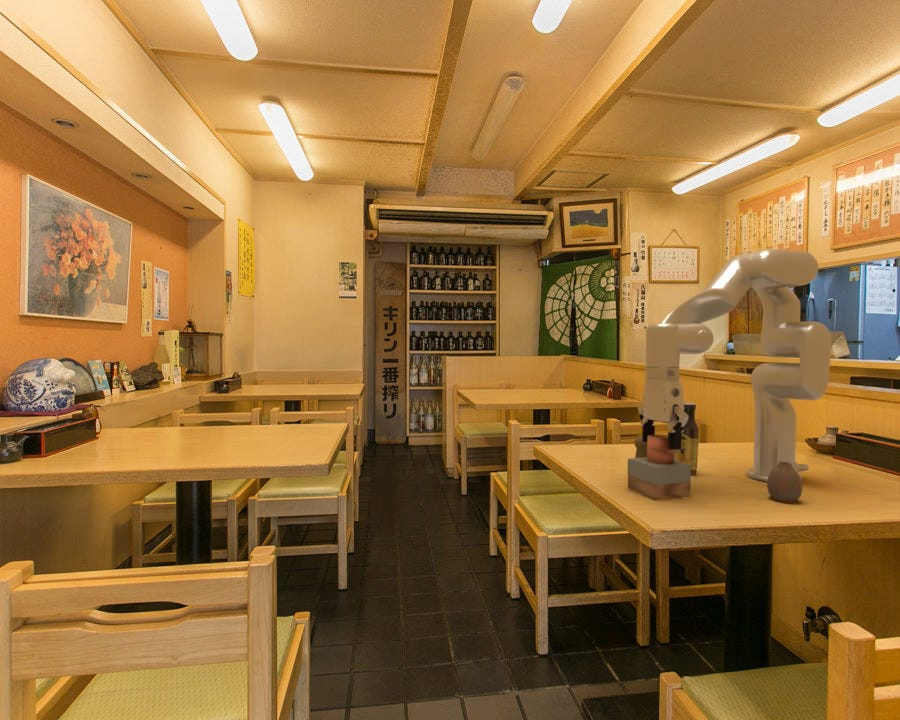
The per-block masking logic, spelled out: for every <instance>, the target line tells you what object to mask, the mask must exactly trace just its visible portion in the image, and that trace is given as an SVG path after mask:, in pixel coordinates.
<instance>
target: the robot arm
mask: <svg viewBox="0 0 900 720" xmlns="http://www.w3.org/2000/svg"><path fill="white" fill-rule="evenodd" d="M818 272H819V264H818V261H817V259H816V257H815V256H814V255H813V254H811V253H810V252H808V251H805V250H804V251H803V250H790V249H778V248H777V249H776V248H768V249H761V250H757V251H751V252H746V253H741V254H737V255H735V256H732V257H731V258H729V259H728V260H727V261H726V262H725V264H723V266H722V267H721V268H720V269H719V271H717V273H716V275H715V276H714V277H713V278H712V279H711V280H710V281H709V283H708V284H707V285H706V286H705V288H704V289H703V290H702V291H699V292H698V293H696V294H695V295H693V296H691V297H690V298H688V300H686V301H684V302H682V303H681V304H679V305H678V306H676V307H675V308H674V309H672V310H671V311H670V312H668V314H667V315H666V316H665V318H664V319H662V321H661V322H660V323H651V324H649V325H648V326H647V328H646V329H645V331H646V332H645V381H644V386H643V392H642V393H643V395H642V404H640V405H639V406H638V407H637V411H638V414H639V415H638V416H639V420H640V425H641V426H642V427H641V428H642V434H641V436H642V441H643V442H647V438H648V435H656V432H655V431H656V426H655V425H654V424H655V422H656V423H663V424H666V426H667V427H668V430H669V432H667V436H668V449H670V450H678V449H681V433H682V432H683V431H684V428H685V427H686V423H687V420H688V418H689V416H688V415H687V414H686V413H685V412H684V403H685V401H684V400H685V398H684V391H683V385H682V382H681V380H680V363H681V362H680V358H681V357H680V355H699V354H703V353H705V352H707V351H708V350H709V349H711V347H713V346H712V345H713V342H714V333H713V331H712V330H711V328H709V326H706V325H705V324H703V323H705V322H708V321H711V320H714V319H716V318H720V317H722V316H724V315H726V314H728V313H730V312H731V311H733V310H734V309H735V307H737V305H738V304H739V302H740V301H741V300H742V299H743V297H745V295H746V294H747V292H748V291H749V290H750V289H751V288H752V289H753V290H754V291H755V293H756V294H757V296H758V297H759V299H760V300H761V303H762V304H761V305H762V324H761V333H760V334H761V335H760V347H761V351H762V352H763V354H764V355H766V356H768V357H771V358H786V359H789V358H791V359H792V358H793V359H795V358H796V359H799V362H782V361H781V362H780V361H778V362H777V361H773V362H765V363H760V364H759V365H757V366H756V367H755V368H754V369H753V370H752V372H751V377H750V383H751V388H752V393H753V400H754V431H753V432H754V435H753V436H754V437H753V439H754V441H753V443H754V444H753V468H750V469H747V471H746V475H747V476H748V477H749V478H751V479H754V480H758V481H761V482H767V478H768V476H769V474H770V472H771V471H772V470H773V469H774V468H775V467H776V466H777V465H778V463H779V462H789V463H791V464H792V467H793V468H794V470H795V471H796V472H797V473H798V474H799V472H807V471H808V470H809V465H808V464H807V463H799V462H796V447H797V446H796V445H797V444H796V442H797V440H796V439H797V413H796V409H795V408H794V406H793V404H792V403H791V400H799V401H817V400H819V399H821V398H823V397H824V395H826V392H827V391H828V386H829V382H830V381H829V380H830V379H829V378H830V371H831V370H830V368H831V367H830V366H831V356H832V338H831V337H832V336H831V334H830V331H829V328H828V327H827V326H826V325H825V324H823V323H821V322H819V321H814V320H812V321H809V320H808V321H807V320H806V321H801V301H800V299H799V298H798V297H797V295H796V294H795V293H794V291H793V290H792V289H791V288H792V287H799V286H805V285H808V284H810V283H811V282H813V281H814V279H816V277H817V275H818ZM790 287H791V288H790ZM799 476H800V478H801V480H802V481H803V477H802V476H801V475H799Z"/></svg>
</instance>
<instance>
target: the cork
mask: <svg viewBox="0 0 900 720" xmlns="http://www.w3.org/2000/svg"><path fill="white" fill-rule="evenodd" d="M634 446H635V448H636V450H635V456H634V458H643V457H647V442H643V441H642V435H640V436H636V437H635V439H634Z"/></svg>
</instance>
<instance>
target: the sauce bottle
mask: <svg viewBox="0 0 900 720" xmlns="http://www.w3.org/2000/svg"><path fill="white" fill-rule="evenodd" d="M696 405H697V404H696V403H692V402H684V412H685V413H686V414H687V415H688V416H689V418H688V420H687V423H686V427H685V428H684V431H683V432H682V433H681V449H678V450H674V460H676V461H679V462H683V463H686V464H690V465H691V475H692V476H693V474H694V475H696V474H697V472H698V471H697V470H698V462H699V461H698V459H699V457H698V455H699V438H700V437H699V427H698V424H697V423H696V420H695V419H696V418H695V417H696V416H695V413H696V412H695V411H696V408H697V406H696Z"/></svg>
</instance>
